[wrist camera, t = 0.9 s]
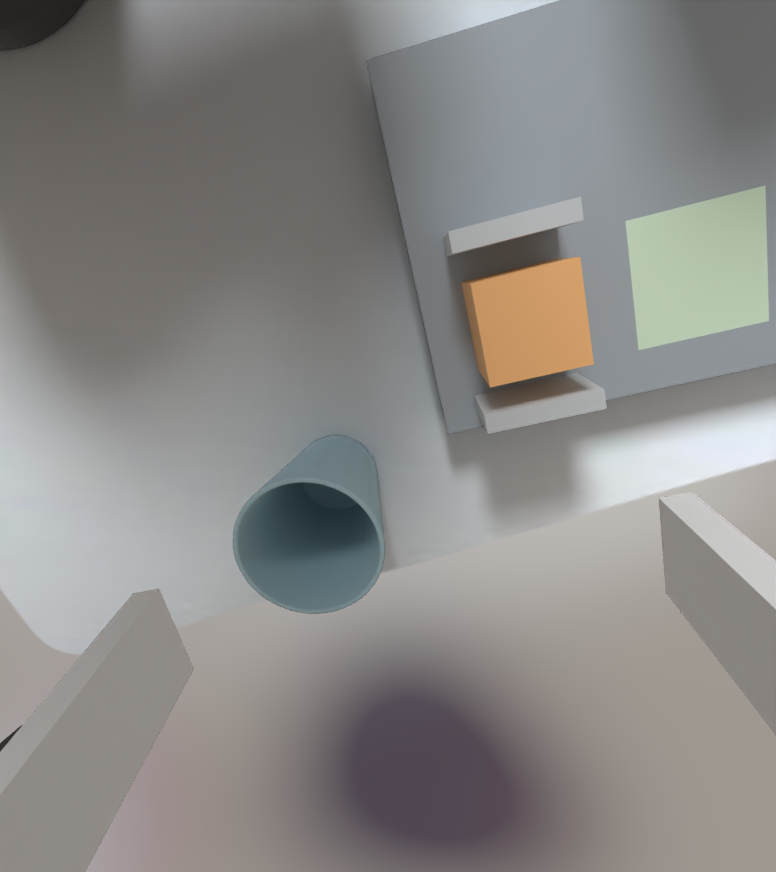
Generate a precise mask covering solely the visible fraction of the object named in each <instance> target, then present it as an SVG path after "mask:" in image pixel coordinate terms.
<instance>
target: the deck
mask: <svg viewBox="0 0 776 872" xmlns="http://www.w3.org/2000/svg"><path fill="white" fill-rule="evenodd" d="M366 62H367V67H368V71H369V76H370V80H371V85H372V90H373V94H374V99H375V103H376V108H377V112H378V117H379V122H380V126H381V131H382V135H383V140H384V144H385V149H386V153H387V158H388V163H389V167H390V172H391V176H392V181H393V185H394V190H395V194H396V199H397V204H398V208H399V213H400V217H401V222H402V226H403V231H404V235H405V240H406V245H407V249H408V254H409V258H410V263H411V267H412V272H413V277H414V281H415V286H416V290H417V295H418V299H419V304H420V308H421V313H422V318H423V322H424V327H425V331H426V336H427V340H428V345H429V349H430V354H431V359H432V363H433V368H434V372H435V377H436V381H437V386H438V390H439V395H440V400H441V404H442V409H443V413H444V418H445V422H446V427H447V432H448V434H452V433H457V432H461V431H466V430H470V429H475V428H480V427H485V429H486V431H487V433H488V434H491V433H496V432H500V431H505V430H510V429H514V428H519V427H524V426H528V425H533V424H538V423H542V422H547V421H552V420H557V419H561V418H566V417H571V416H575V415H580V414H585V413H589V412H594V411H599V410H603V409H607V405H606V400H610V399H614V398H619V397H623V396H628V395H633V394H637V393H642V392H647V391H651V390H656V389H661V388H665V387H670V386H675V385H679V384H684V383H688V382H693V381H698V380H702V379H707V378H712V377H716V376H721V375H726V374H730V373H735V372H739V371H744V370H749V369H753V368H758V367H763V366H767V365H772V364H776V0H559V1H556V2H553V3H550V4H547V5H543V6H540V7H537V8H534V9H530V10H527V11H524V12H521V13H517V14H514V15H511V16H508V17H504V18H501V19H498V20H495V21H492V22H488V23H485V24H482V25H479V26H475V27H472V28H469V29H466V30H462V31H459V32H456V33H453V34H449V35H446V36H443V37H440V38H437V39H433V40H430V41H427V42H424V43H420V44H417V45H414V46H411V47H407V48H404V49H401V50H398V51H394V52H391V53H388V54H385V55H382V56H378V57H375V58H372V59H369V60H366ZM573 257H580V259H581V267H582V274H583V282H584V290H585V298H586V306H587V314H588V321H589V329H590V337H591V345H592V353H593V361H594V364H593V365H588V366H584V367H580V368H575V369H571V370H566V371H562V372H557V373H553V374H548V375H544V376H539V377H535V378H531V379H526V380H522V381H517V382H513V383H508V384H504V385H499V386H495V387H489V385H488V384H487V382H486V381H485V379H484V378H483V376H482V375H481V373H480V372H479V370H478V366H477V361H476V356H475V351H474V346H473V341H472V336H471V330H470V325H469V320H468V315H467V310H466V305H465V299H464V294H463V289H462V284H461V282H465V281H469V280H473V279H477V278H481V277H485V276H489V275H493V274H497V273H501V272H504V271H508V270H512V269H516V268H520V267H524V266H528V265H532V264H536V263H540V262H544V261H548V260H553V259H563V258H573Z"/></svg>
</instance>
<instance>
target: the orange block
mask: <svg viewBox="0 0 776 872" xmlns="http://www.w3.org/2000/svg"><path fill="white" fill-rule="evenodd" d="M461 284H462V289H463V294H464V299H465V305H466V310H467V315H468V320H469V325H470V330H471V336H472V341H473V346H474V351H475V356H476V361H477V366H478V370H479V372H480V373H481V375H482V376H483V378H484V379H485V381H486V382H487V384H488V385H489V387H495V386H499V385H504V384H508V383H513V382H517V381H522V380H526V379H531V378H535V377H539V376H544V375H548V374H553V373H557V372H562V371H566V370H571V369H575V368H580V367H584V366H588V365H593V364H594V361H593V353H592V345H591V337H590V329H589V321H588V314H587V306H586V298H585V290H584V282H583V274H582V267H581V259H580V257H573V258H563V259H553V260H548V261H544V262H540V263H536V264H532V265H528V266H524V267H520V268H516V269H512V270H508V271H504V272H501V273H497V274H493V275H489V276H485V277H481V278H477V279H473V280H469V281H465V282H461Z"/></svg>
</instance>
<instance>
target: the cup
mask: <svg viewBox="0 0 776 872" xmlns="http://www.w3.org/2000/svg"><path fill="white" fill-rule="evenodd" d="M233 550H234V555H235V559H236V562H237V564H238V567H239V569H240V571H241V573H242V574H243V576H244V577H245V579H246V580H247V582H248V583H249V584H250V585H251V586H252V587H253V589H255V590H256V591H257V592H258V593H259V594H260V595H261V596H263V597H264V598H266V599H267V600H269V601H270V602H272V603H274V604H276V605H278V606H280V607H283V608H285V609H288V610H291V611H295V612H301V613H309V614H319V613H328V612H333V611H337V610H340V609H343V608H345V607H347V606H350V605H351V604H353V603H355V602H356V601H358V600H359V599H361V598H362V597H363V596H364V595H366V593H367V592H368V591H369V590H370V589H371V588H372V587H373V585H374V584H375V582H376V581H377V579H378V577H379V575H380V573H381V570H382V567H383V563H384V557H385V543H384V533H383V524H382V517H381V507H380V497H379V487H378V477H377V471H376V464H375V461H374V459H373V457H372V456H371V454H370V453H369V452H368V450H367V449H366V448H365V447H364V446H363V445H362V444H360V443H359V442H357V441H355V440H353V439H351V438H349V437H344V436H327V437H324V438H321V439H318V440H316V441H314V442H313V443H312V444H310V445H309V446H308V447H307V448H306V449H305V450H304V451H302V452H301V453H300V454H299V455H298V456H297V457H296V458H295V459H294V460H293V461H291V462H290V463H289V464H288V465H287V466H286V467H285V468H284V469H283V470H282V471H280V472H279V473H278V474H277V475H276V476H275V477H274V478H273V479H271V480H270V481H269V482H268V483H266V484H265V485H264V486H263V487H262V488H261V489H260V490H259V491H257V492H256V493H255V494H254V495H253V496H252V497H251V498H250V499H249V500H248V501H247V503H246V504H245V505H244V507H243V508H242V510H241V511H240V513H239V515H238V517H237V520H236V523H235V527H234V531H233Z"/></svg>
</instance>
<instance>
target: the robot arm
mask: <svg viewBox="0 0 776 872" xmlns="http://www.w3.org/2000/svg"><path fill="white" fill-rule="evenodd" d="M83 1H84V0H0V50H7V49H14V48H20V47H23V46H27V45H30V44H32V43H35V42H37V41H39V40H41V39H43V38H45V37H47V36H49V35H50V34H52V33H53V32H55V31H56V30H57V29H59V28H60V27H61V26H62V25H63V24H64V23H65V22H67V21H68V20H69V19H70V18H71V16H72V15H73V14H74V13H75V12H76V11H77V9H78V8H79V7H80V5H81V4H82V3H83ZM659 508H660V521H661V534H662V549H663V562H664V574H665V575H664V576H665V589H666V593H667V595H668V596H669V597H670V598H671V600H672V601H673V603H674V604H675V605H676V606H677V608H678V609H679V610H680V612H681V613H682V614H683V615H684V617H685V618H686V619H687V621H688V622H689V623H690V625H691V626H692V627H693V628H694V630H695V631H696V632H697V634H698V635H699V636H700V638H701V639H702V640H703V641H704V643H705V644H706V645H707V647H708V648H709V649H710V651H711V652H712V653H713V654H714V656H715V657H716V658H717V660H718V661H719V662H720V664H721V665H722V666H723V667H724V669H725V670H726V671H727V672H728V674H729V675H730V676H731V678H732V679H733V680H734V682H735V683H736V684H737V685H738V687H739V688H740V689H741V691H742V692H743V693H744V695H745V696H746V697H747V699H748V700H749V701H750V702H751V704H752V705H753V706H754V707H755V709H756V710H757V711H758V713H759V714H760V715H761V717H762V718H763V719H764V721H765V722H766V723H767V724H768V726H769V727H770V728H771V730H772V731H773V732H774V733H775V735H776V561H775V560H774V559H773V558H772V557H770V556H769V555H768V554H767V553H766V552H764V551H763V550H762V549H761V548H760V547H758V546H757V545H756V544H754V543H753V542H752V541H751V540H750V539H748V538H747V537H746V536H745V535H744V534H742V533H741V532H740V531H739V530H737V529H736V528H735V527H734V526H733V525H731V524H730V523H729V522H728V521H727V520H725V519H724V518H723V517H722V516H720V515H719V514H718V513H717V512H716V511H714V510H713V509H712V508H711V507H709V506H708V505H707V504H706V503H705V502H703V501H702V500H701V499H699V497H697V496H696V495H695V494H694V493H692V492H688V493H683V494H677V495H671V496H666V497H660V498H659ZM193 669H194V668H193V666H192V664H191V661H190V659H189V657H188V654H187V652H186V650H185V647H184V645H183V643H182V641H181V638H180V636H179V634H178V631H177V629H176V627H175V624H174V622H173V620H172V618H171V615H170V613H169V611H168V608H167V606H166V604H165V601H164V599H163V597H162V595H161V592H160V590H159V589H155V590H149V591H144V592H139V593H133V594H132V595H131V597H130V598H129V599H128V600H127V601H126V603H125V604H124V605H123V606H122V607H121V609H120V610H119V611H118V612H117V613H116V614H115V616H114V617H113V618H112V619H111V620H110V622H109V623H108V624H107V625H106V626H105V628H104V629H103V630H102V631H101V632H100V634H99V635H98V636H97V637H96V638H95V640H94V641H93V642H92V643H91V644H90V645H89V647H88V648H87V649H86V650H85V651H84V653H83V654H82V655H81V656H80V657H79V659H78V660H77V661H76V662H75V664H74V665H73V666H72V667H71V668H70V669H69V670H68V672H67V673H66V674H65V675H64V677H63V678H62V679H61V680H60V681H59V682H58V684H57V685H56V686H55V687H54V688H53V690H52V691H51V692H50V693H49V694H48V696H47V697H46V698H45V699H44V700H43V702H42V703H41V704H40V705H39V706H38V707H37V709H36V710H35V711H34V712H33V713H32V715H31V716H30V717H29V718H28V719H27V721H26V722H25V723H24V724H23V725H21V726H20V727H19V728H18V729H17V730H15V732H13V733H12V734H11V735H10V736H8V737H7V738H6V739H5V740H4V741H2V742H1V743H0V872H85V871H86V870H87V868H88V866H89V864H90V862H91V860H92V858H93V856H94V855H95V853H96V851H97V849H98V847H99V845H100V843H101V841H102V840H103V838H104V836H105V834H106V832H107V830H108V828H109V827H110V824H111V823H112V821H113V819H114V817H115V815H116V813H117V811H118V810H119V808H120V806H121V804H122V802H123V800H124V798H125V796H126V795H127V793H128V791H129V789H130V787H131V785H132V783H133V782H134V779H135V778H136V776H137V774H138V772H139V770H140V768H141V766H142V765H143V763H144V761H145V759H146V757H147V755H148V753H149V752H150V750H151V748H152V746H153V744H154V742H155V740H156V739H157V737H158V735H159V733H160V731H161V729H162V727H163V725H164V724H165V722H166V720H167V718H168V716H169V714H170V712H171V710H172V708H173V707H174V705H175V703H176V701H177V699H178V697H179V696H180V694H181V692H182V690H183V688H184V686H185V684H186V682H187V681H188V679H189V677H190V675H191V673H192V671H193Z"/></svg>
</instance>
